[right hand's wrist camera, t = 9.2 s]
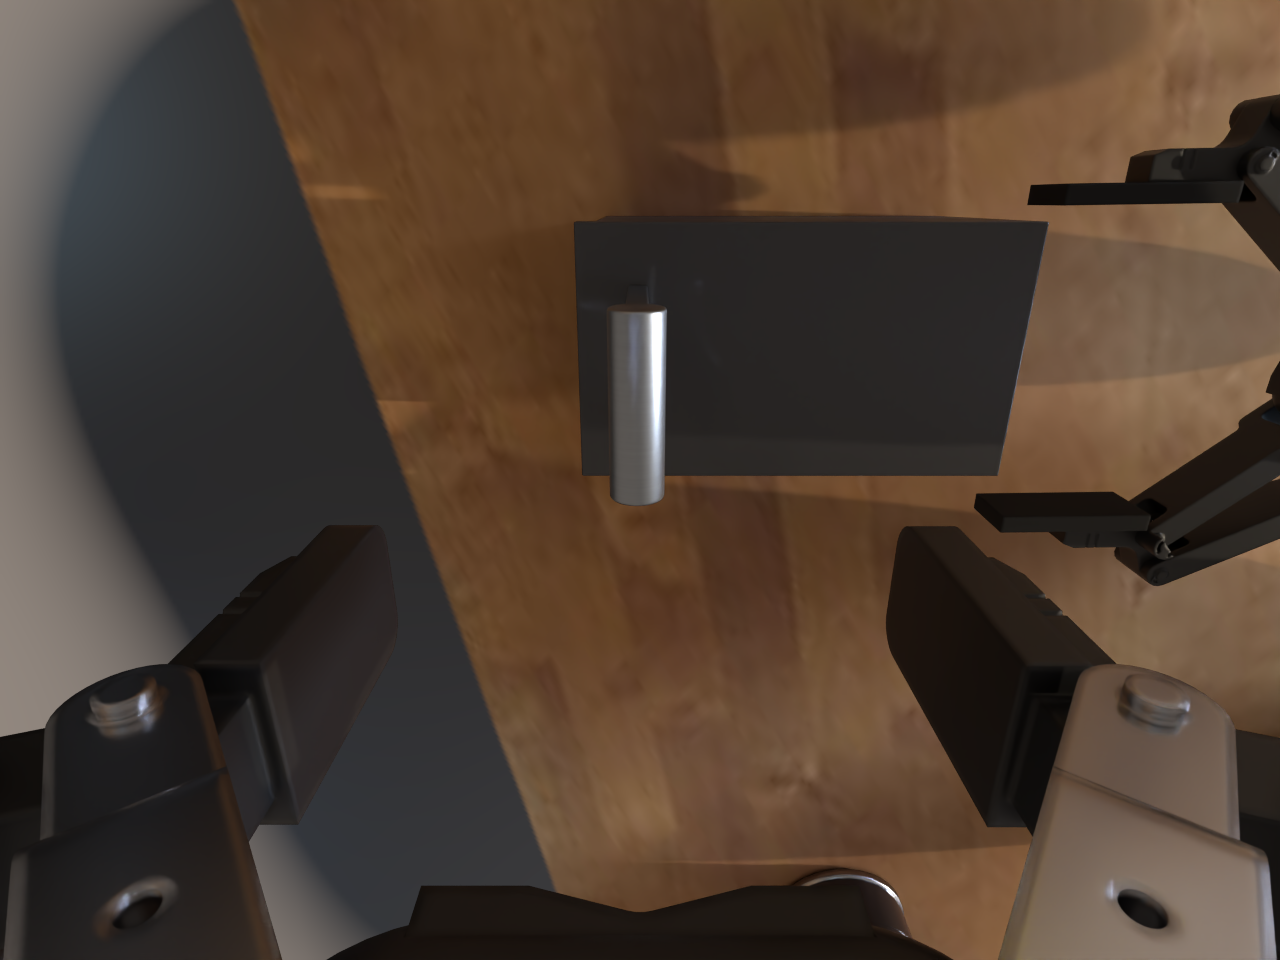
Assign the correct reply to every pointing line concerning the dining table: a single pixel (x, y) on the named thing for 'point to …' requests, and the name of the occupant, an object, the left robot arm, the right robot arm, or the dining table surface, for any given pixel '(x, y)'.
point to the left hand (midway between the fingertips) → (1013, 366)
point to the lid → (798, 347)
